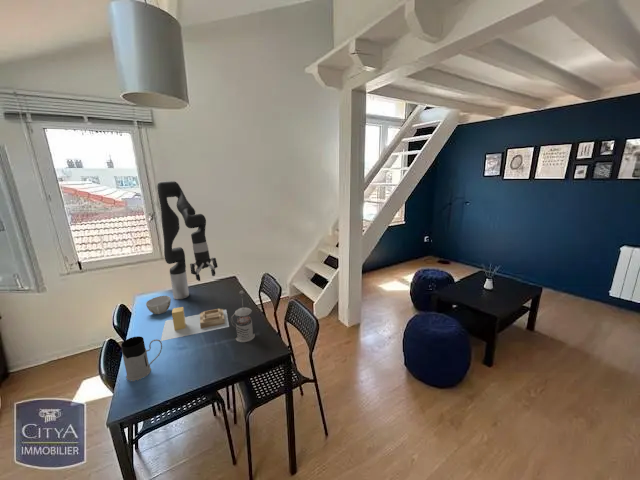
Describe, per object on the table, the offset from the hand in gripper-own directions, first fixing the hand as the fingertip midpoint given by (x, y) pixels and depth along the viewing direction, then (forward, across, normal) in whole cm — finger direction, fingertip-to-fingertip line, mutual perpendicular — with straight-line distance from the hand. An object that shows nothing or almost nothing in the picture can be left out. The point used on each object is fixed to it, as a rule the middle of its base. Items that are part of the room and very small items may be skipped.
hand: (206, 278), depth 156 cm
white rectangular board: (+22, +12, +4) cm, 26 cm away
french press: (+26, 0, +31) cm, 41 cm away
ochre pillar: (+21, +19, 0) cm, 28 cm away
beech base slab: (+22, +4, +7) cm, 24 cm away
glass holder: (+24, +42, +22) cm, 53 cm away
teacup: (+19, +20, -25) cm, 37 cm away
